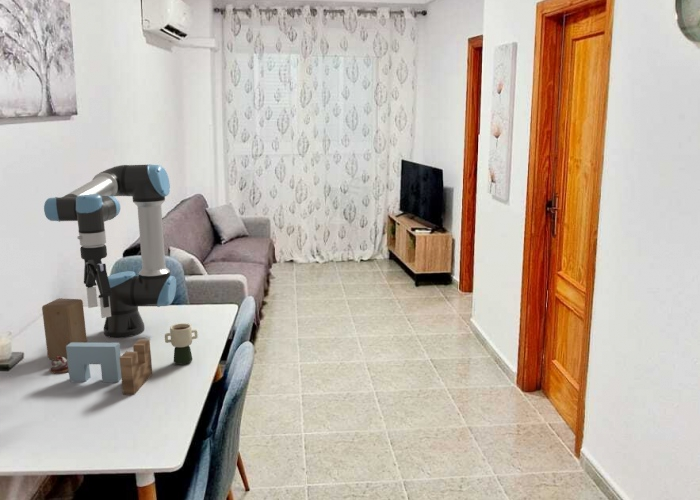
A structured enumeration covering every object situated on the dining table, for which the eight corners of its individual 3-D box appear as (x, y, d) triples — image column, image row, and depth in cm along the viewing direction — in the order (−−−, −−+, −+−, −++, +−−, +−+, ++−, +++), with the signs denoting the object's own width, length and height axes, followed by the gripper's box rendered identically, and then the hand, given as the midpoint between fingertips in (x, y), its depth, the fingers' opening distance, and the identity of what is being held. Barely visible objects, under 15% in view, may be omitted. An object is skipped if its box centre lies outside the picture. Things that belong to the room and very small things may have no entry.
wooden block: (72, 362, 234) (66, 307, 229) (47, 360, 236) (40, 305, 231) (89, 351, 243) (83, 298, 239) (64, 350, 245) (58, 297, 241)
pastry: (45, 372, 226) (43, 358, 225) (62, 364, 233) (60, 350, 231) (64, 375, 223) (62, 361, 222) (80, 367, 230) (79, 353, 229)
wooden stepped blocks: (142, 373, 223) (138, 339, 220) (152, 373, 222) (149, 339, 220) (123, 394, 207) (119, 357, 204) (134, 394, 207) (130, 357, 204)
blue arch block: (69, 381, 217) (65, 346, 215) (74, 377, 221) (71, 342, 218) (118, 382, 216) (114, 346, 214) (122, 377, 220) (119, 342, 217)
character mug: (197, 356, 237) (195, 321, 234) (201, 363, 230) (198, 327, 228) (165, 361, 233) (162, 325, 230) (168, 368, 227) (165, 332, 224)
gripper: (69, 240, 214) (76, 305, 219) (92, 253, 195) (99, 323, 199) (93, 237, 219) (99, 301, 223) (118, 250, 199) (124, 318, 203)
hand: (99, 311), depth 211 cm, fingers open, 13 cm apart
